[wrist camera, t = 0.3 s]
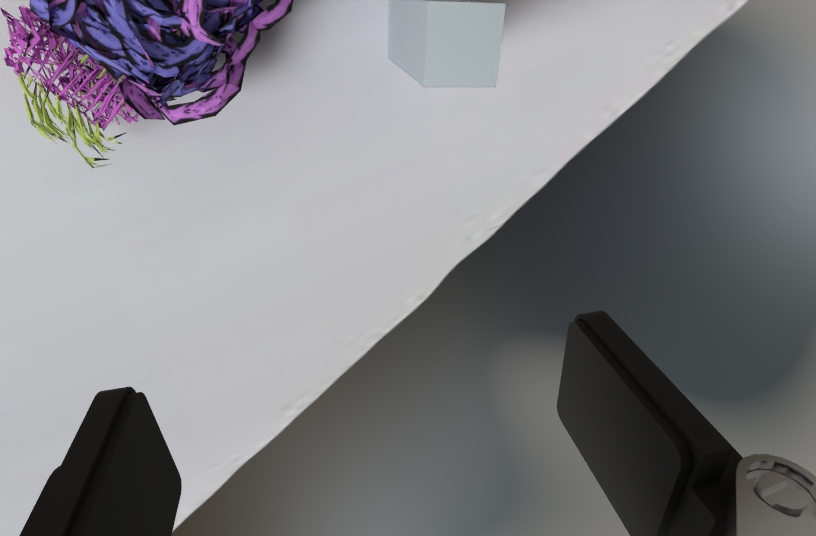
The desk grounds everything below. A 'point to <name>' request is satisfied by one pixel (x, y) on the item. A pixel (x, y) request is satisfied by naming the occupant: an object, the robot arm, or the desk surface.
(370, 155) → the desk surface
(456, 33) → the grey block
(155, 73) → the decorative ornament
